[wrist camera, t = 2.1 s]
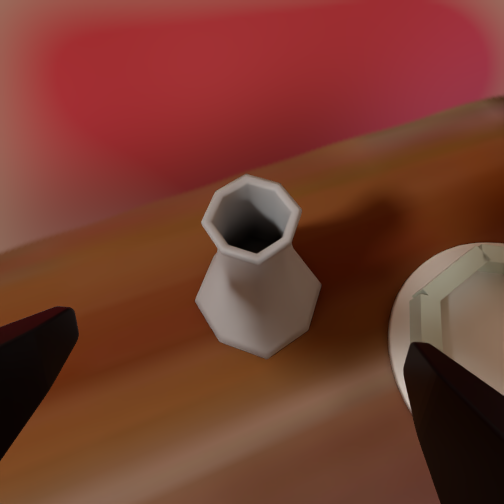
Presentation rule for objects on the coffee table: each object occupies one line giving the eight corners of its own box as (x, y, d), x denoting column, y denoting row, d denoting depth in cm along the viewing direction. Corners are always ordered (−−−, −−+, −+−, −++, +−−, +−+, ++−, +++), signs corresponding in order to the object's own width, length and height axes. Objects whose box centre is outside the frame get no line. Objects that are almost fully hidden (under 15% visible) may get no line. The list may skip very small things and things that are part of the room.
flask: (174, 304, 20) (98, 234, 11) (248, 219, 22) (236, 100, 13) (270, 383, 19) (273, 378, 9) (341, 283, 21) (403, 196, 11)
